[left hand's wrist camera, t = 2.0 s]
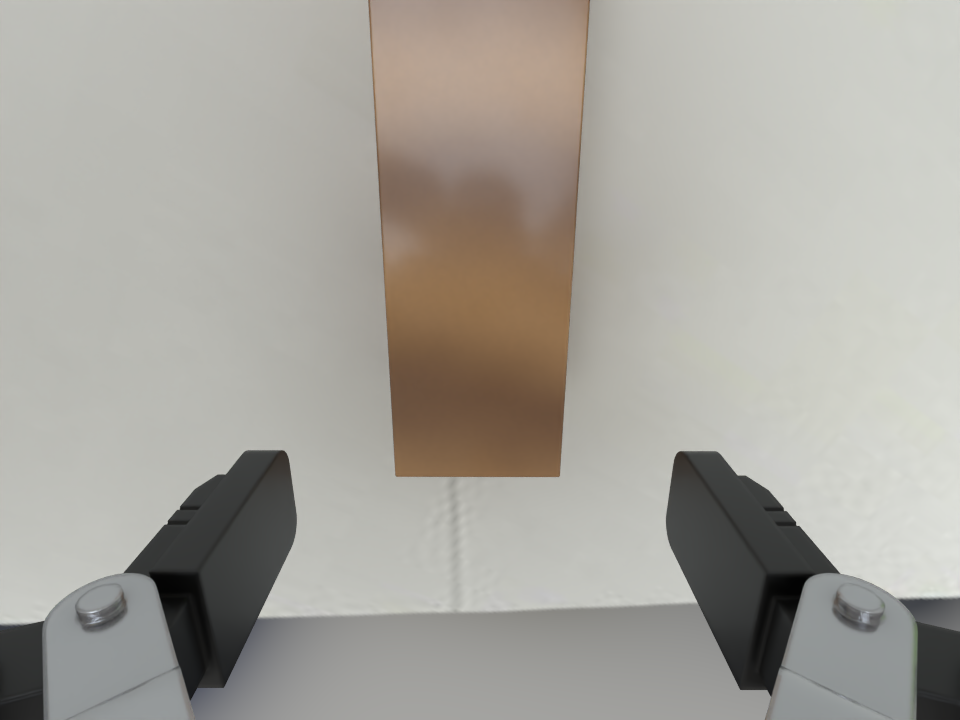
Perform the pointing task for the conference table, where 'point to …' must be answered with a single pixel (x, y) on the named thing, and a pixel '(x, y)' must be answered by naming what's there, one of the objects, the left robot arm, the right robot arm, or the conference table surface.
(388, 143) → the bar
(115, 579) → the left robot arm
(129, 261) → the conference table surface
